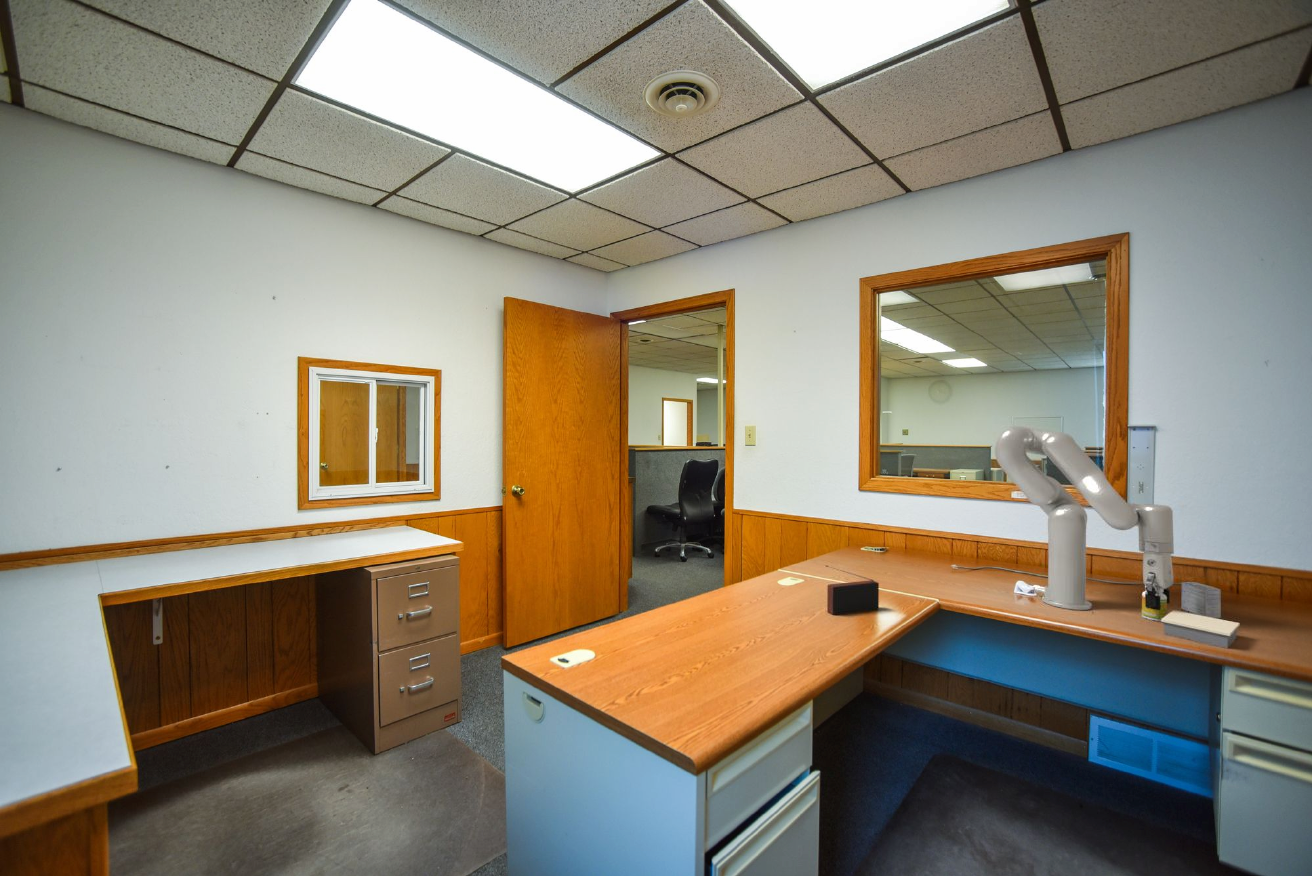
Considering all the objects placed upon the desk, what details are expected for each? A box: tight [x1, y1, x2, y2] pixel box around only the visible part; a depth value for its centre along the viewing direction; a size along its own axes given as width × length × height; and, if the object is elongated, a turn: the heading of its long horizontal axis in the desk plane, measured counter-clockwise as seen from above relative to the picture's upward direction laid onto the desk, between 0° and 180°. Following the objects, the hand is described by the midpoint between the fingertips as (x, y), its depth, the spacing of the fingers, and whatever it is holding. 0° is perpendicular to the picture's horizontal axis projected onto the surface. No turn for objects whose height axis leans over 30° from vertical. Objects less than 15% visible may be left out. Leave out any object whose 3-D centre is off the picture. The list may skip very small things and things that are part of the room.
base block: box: [1160, 609, 1241, 649], centre depth 147 cm, size 13×13×4 cm
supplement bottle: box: [1141, 585, 1168, 622], centre depth 160 cm, size 5×5×10 cm
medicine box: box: [1180, 581, 1222, 619], centre depth 164 cm, size 8×4×9 cm, turn 179°
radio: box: [825, 565, 880, 616], centre depth 167 cm, size 19×3×15 cm, turn 108°
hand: (1157, 605), depth 160 cm, fingers open, 9 cm apart
